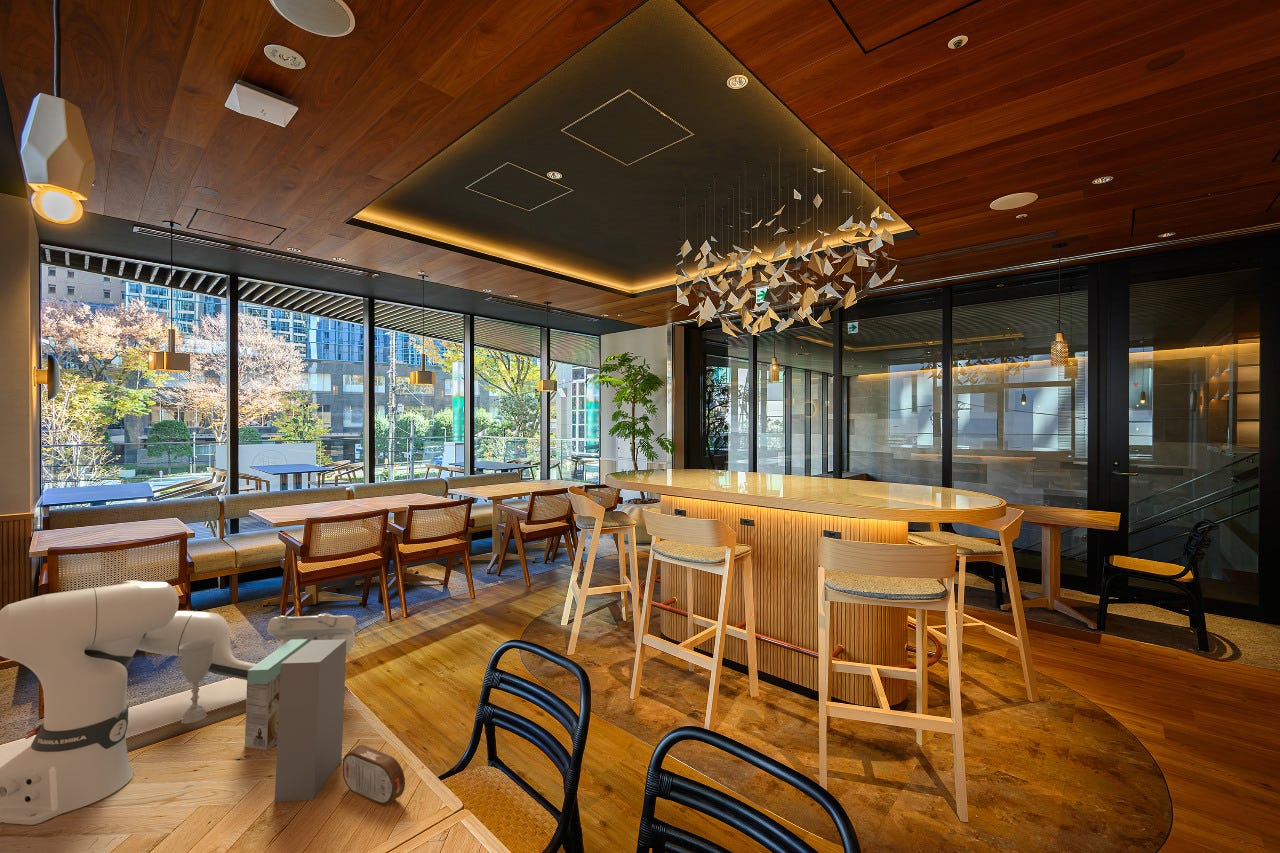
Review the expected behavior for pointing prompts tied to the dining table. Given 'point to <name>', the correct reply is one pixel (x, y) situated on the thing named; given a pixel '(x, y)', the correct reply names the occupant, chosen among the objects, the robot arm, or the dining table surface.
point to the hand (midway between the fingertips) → (301, 618)
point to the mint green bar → (273, 662)
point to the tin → (373, 775)
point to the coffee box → (262, 714)
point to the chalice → (196, 672)
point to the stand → (310, 719)
